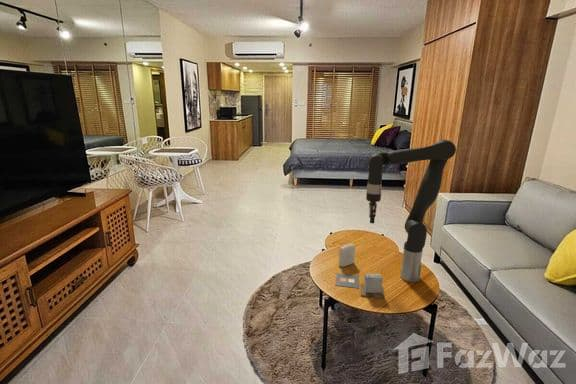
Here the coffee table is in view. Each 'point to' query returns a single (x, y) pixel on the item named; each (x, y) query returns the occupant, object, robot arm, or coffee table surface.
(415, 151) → the robot arm
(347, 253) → the photo printer
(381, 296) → the walnut mat
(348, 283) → the tile
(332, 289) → the coffee table surface
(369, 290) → the medicine box
